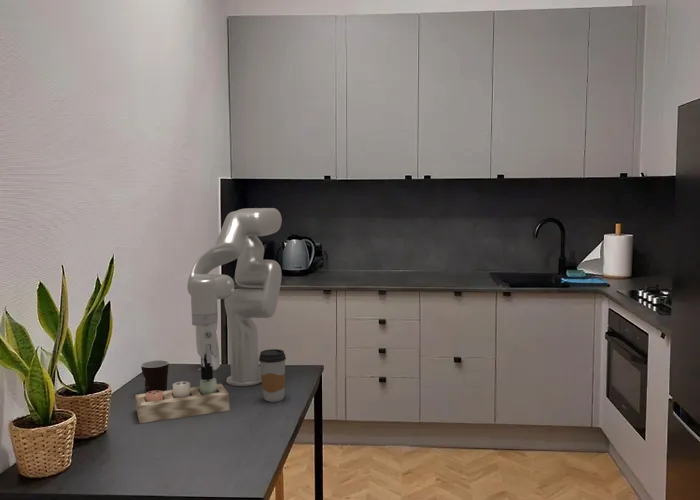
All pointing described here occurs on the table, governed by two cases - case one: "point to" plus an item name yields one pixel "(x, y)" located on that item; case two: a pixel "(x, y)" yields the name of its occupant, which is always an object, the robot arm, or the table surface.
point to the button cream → (181, 389)
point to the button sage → (208, 386)
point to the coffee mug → (155, 375)
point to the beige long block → (182, 405)
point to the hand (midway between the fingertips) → (207, 378)
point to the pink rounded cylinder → (154, 396)
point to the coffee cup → (272, 374)
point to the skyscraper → (216, 359)
